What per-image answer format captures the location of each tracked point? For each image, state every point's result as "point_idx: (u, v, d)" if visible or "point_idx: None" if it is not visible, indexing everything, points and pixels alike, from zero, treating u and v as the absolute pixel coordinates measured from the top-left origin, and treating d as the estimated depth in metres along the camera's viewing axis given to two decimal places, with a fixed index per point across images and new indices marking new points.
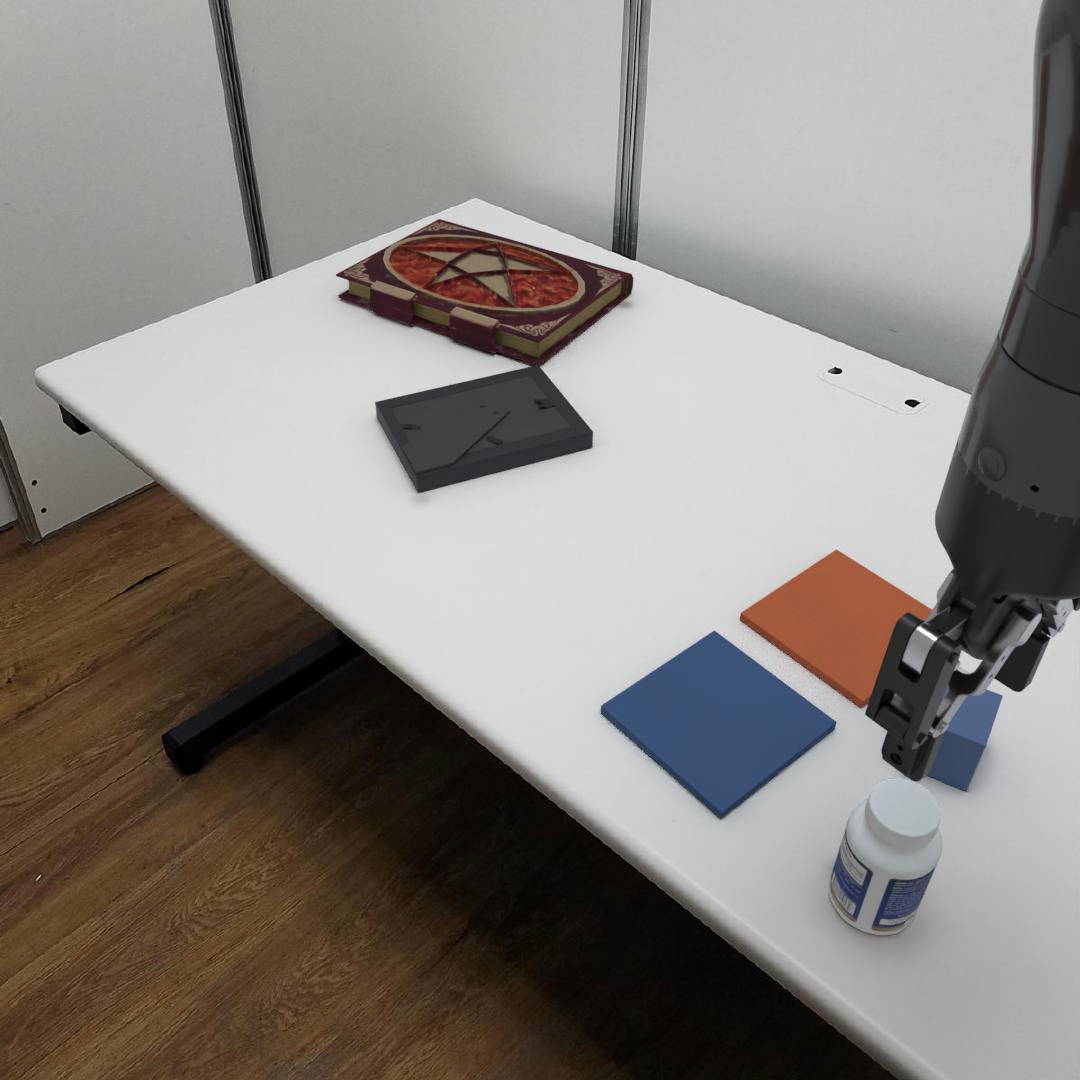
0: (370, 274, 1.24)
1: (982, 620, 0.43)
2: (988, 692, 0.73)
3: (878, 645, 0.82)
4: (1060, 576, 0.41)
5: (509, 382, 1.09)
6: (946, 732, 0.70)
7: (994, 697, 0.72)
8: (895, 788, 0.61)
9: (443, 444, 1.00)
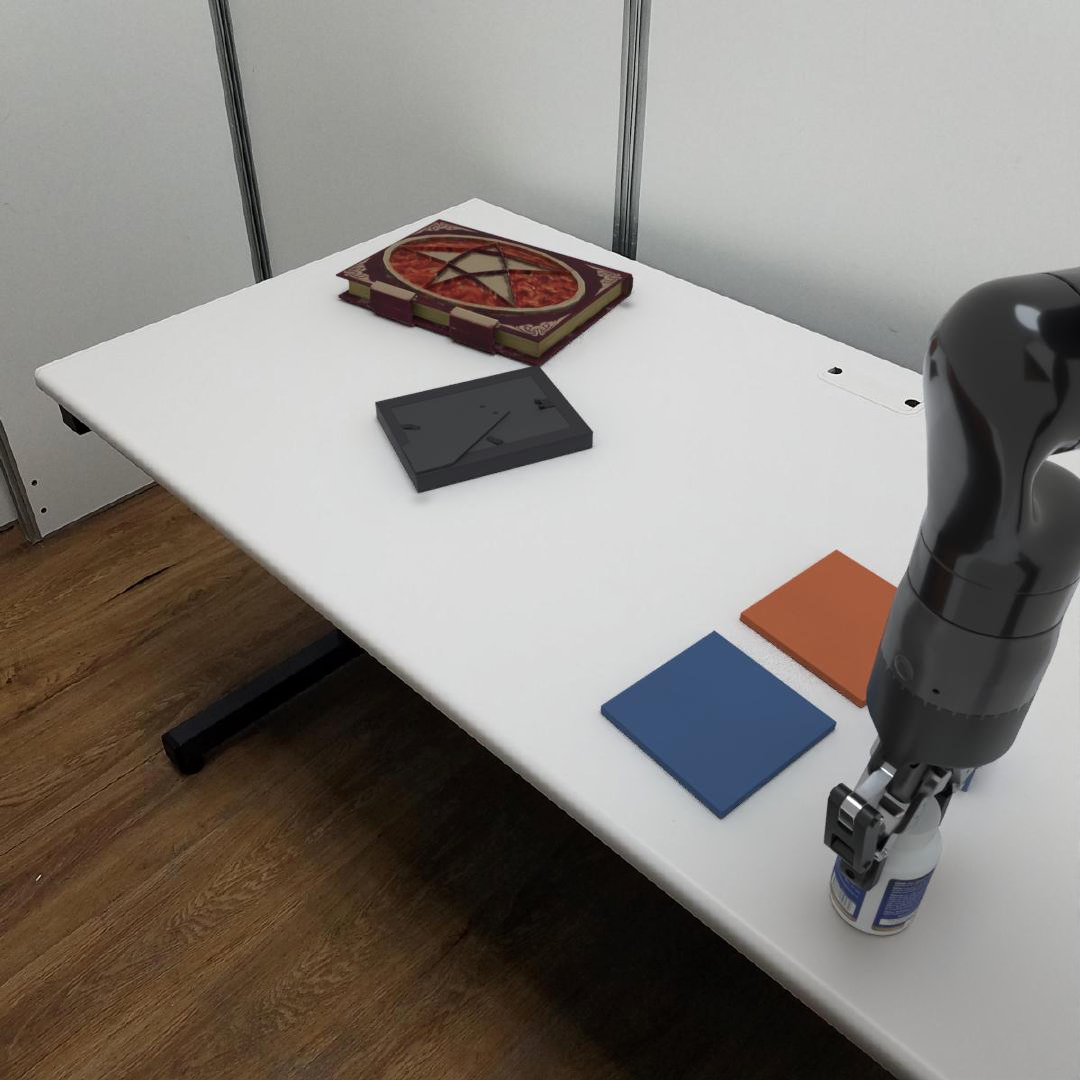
0: (370, 274, 1.24)
1: (901, 781, 0.54)
2: None
3: (878, 645, 0.82)
4: (959, 753, 0.51)
5: (509, 382, 1.09)
6: None
7: None
8: None
9: (443, 444, 1.00)
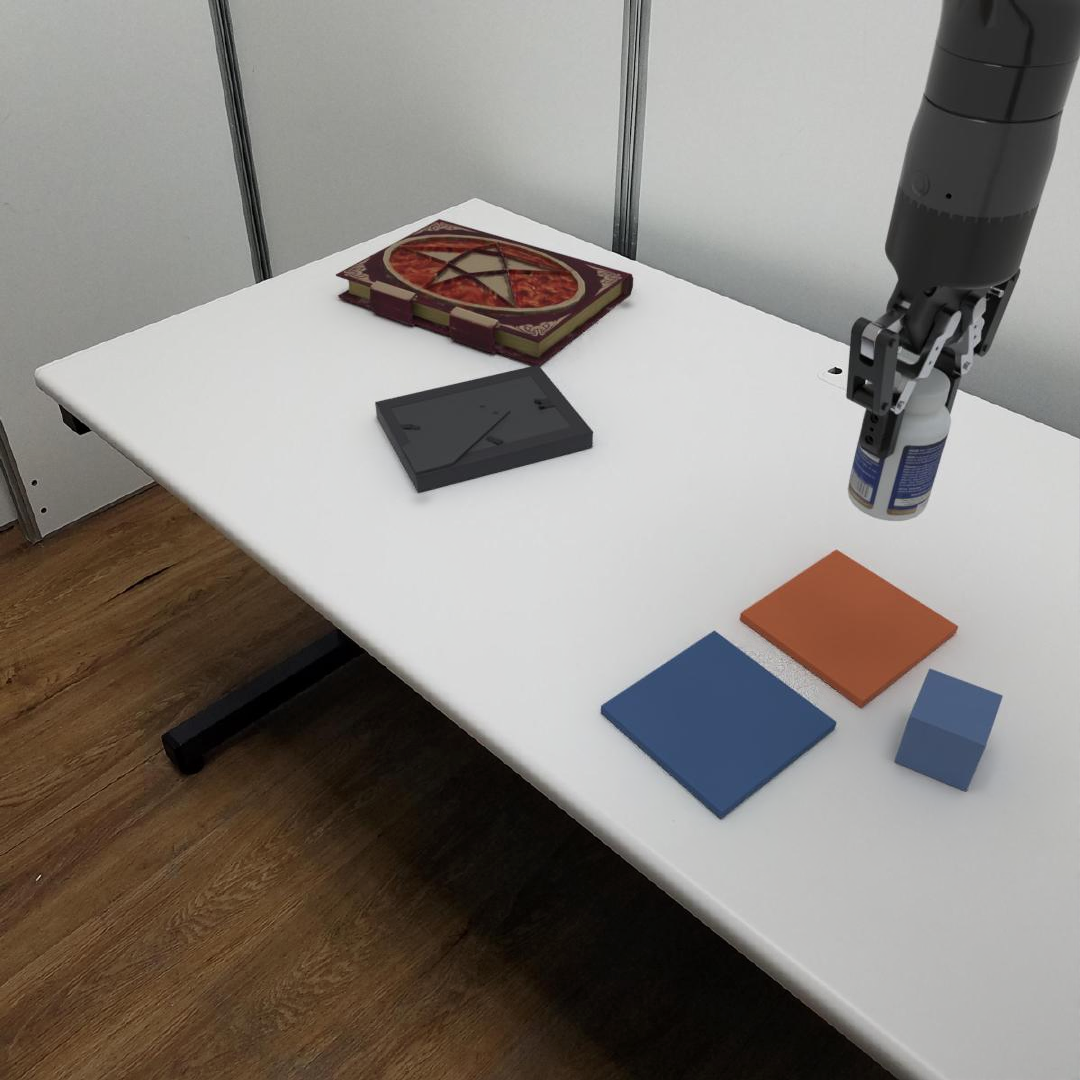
0: (370, 274, 1.24)
1: (917, 310, 0.60)
2: (988, 692, 0.73)
3: (878, 645, 0.82)
4: (969, 266, 0.58)
5: (509, 382, 1.09)
6: (946, 732, 0.70)
7: (994, 697, 0.72)
8: None
9: (443, 444, 1.00)
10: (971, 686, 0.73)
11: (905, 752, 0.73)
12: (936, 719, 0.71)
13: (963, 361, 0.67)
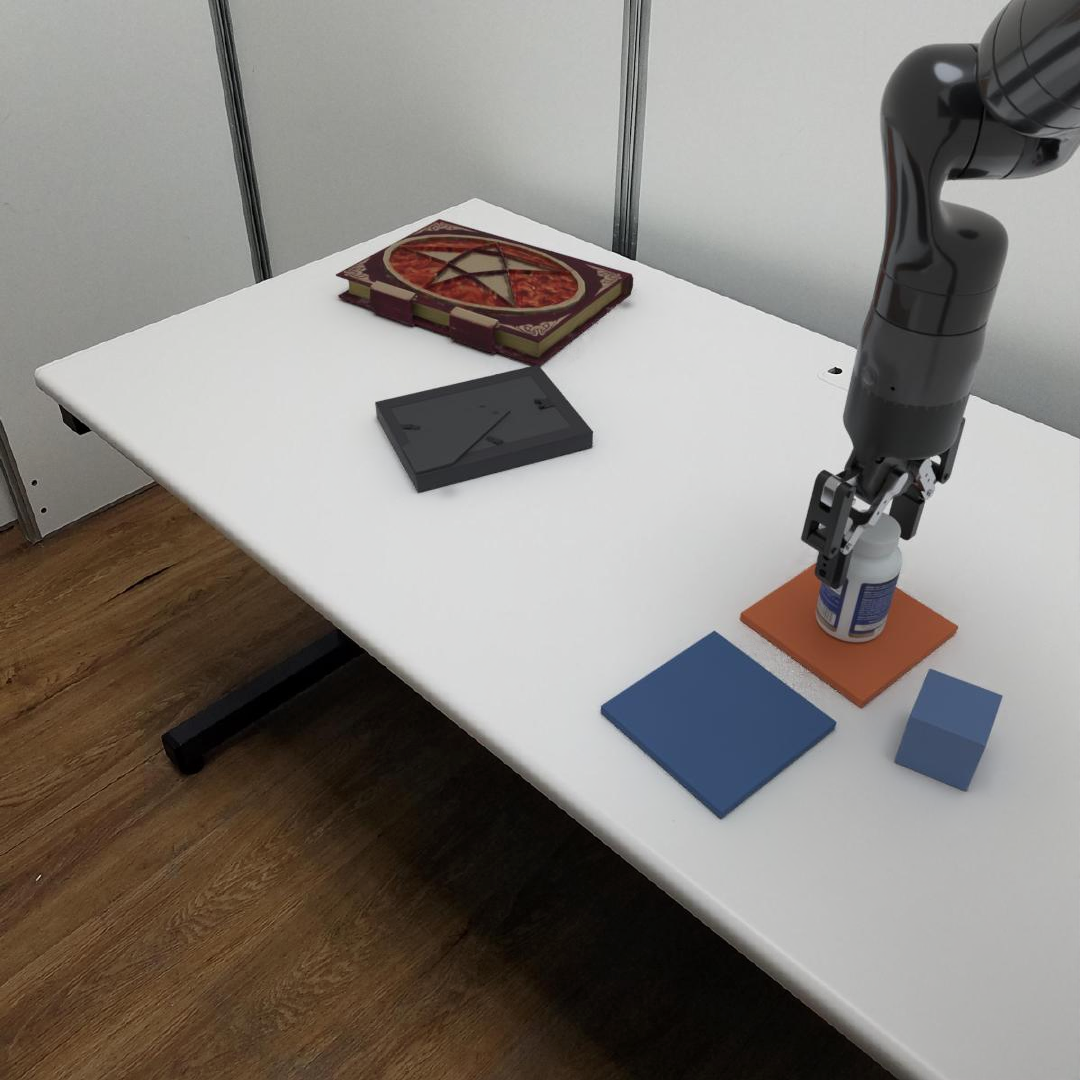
0: (370, 274, 1.24)
1: (869, 474, 0.71)
2: (988, 692, 0.73)
3: (878, 645, 0.82)
4: (911, 443, 0.68)
5: (509, 382, 1.09)
6: (946, 732, 0.70)
7: (994, 697, 0.72)
8: None
9: (443, 444, 1.00)
10: (971, 686, 0.73)
11: (905, 752, 0.73)
12: (936, 719, 0.71)
13: (926, 490, 0.78)
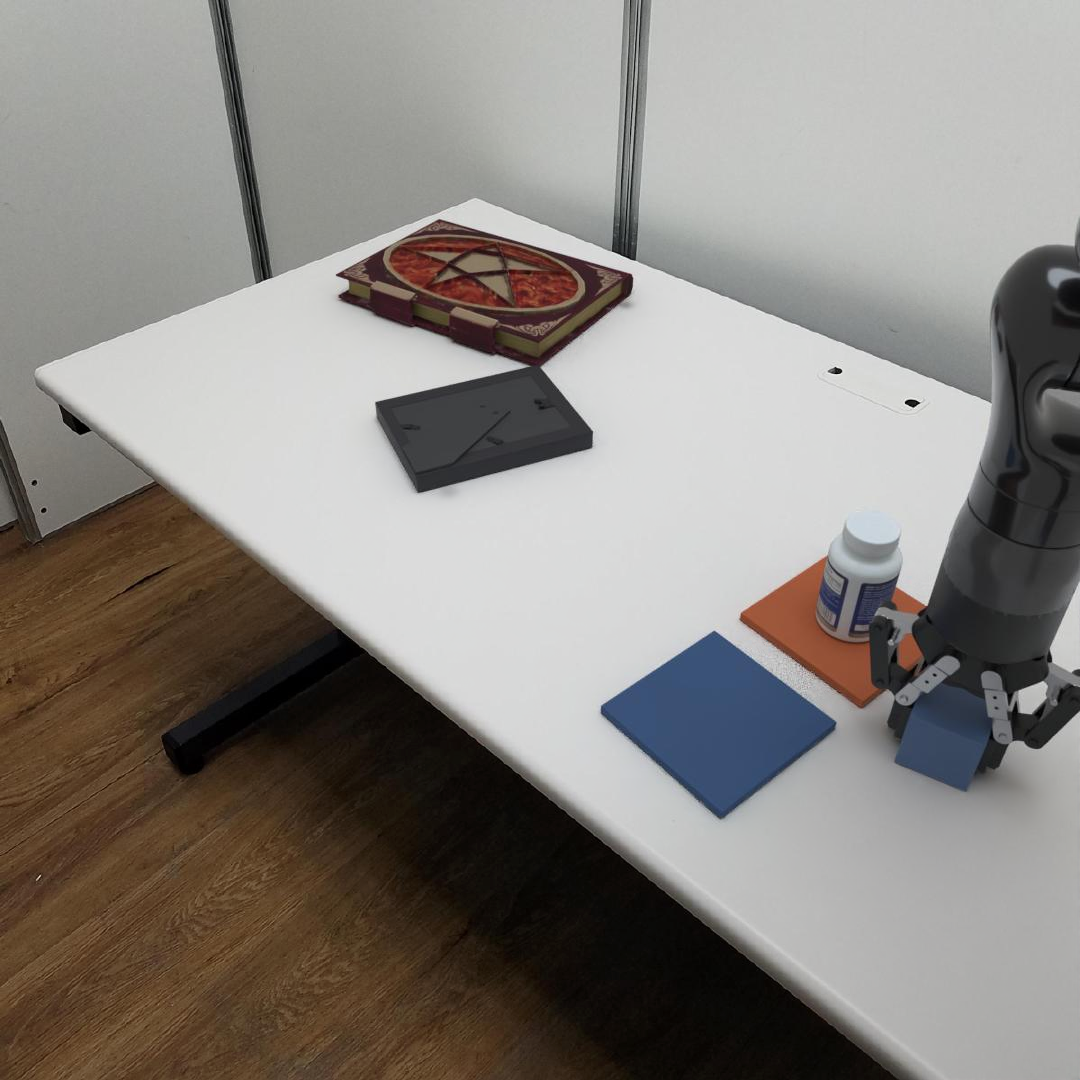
0: (370, 274, 1.24)
1: (917, 625, 0.69)
2: None
3: None
4: (940, 615, 0.65)
5: (509, 382, 1.09)
6: (946, 732, 0.70)
7: None
8: (866, 515, 0.79)
9: (443, 444, 1.00)
10: None
11: (905, 752, 0.73)
12: (936, 719, 0.71)
13: (995, 727, 0.70)
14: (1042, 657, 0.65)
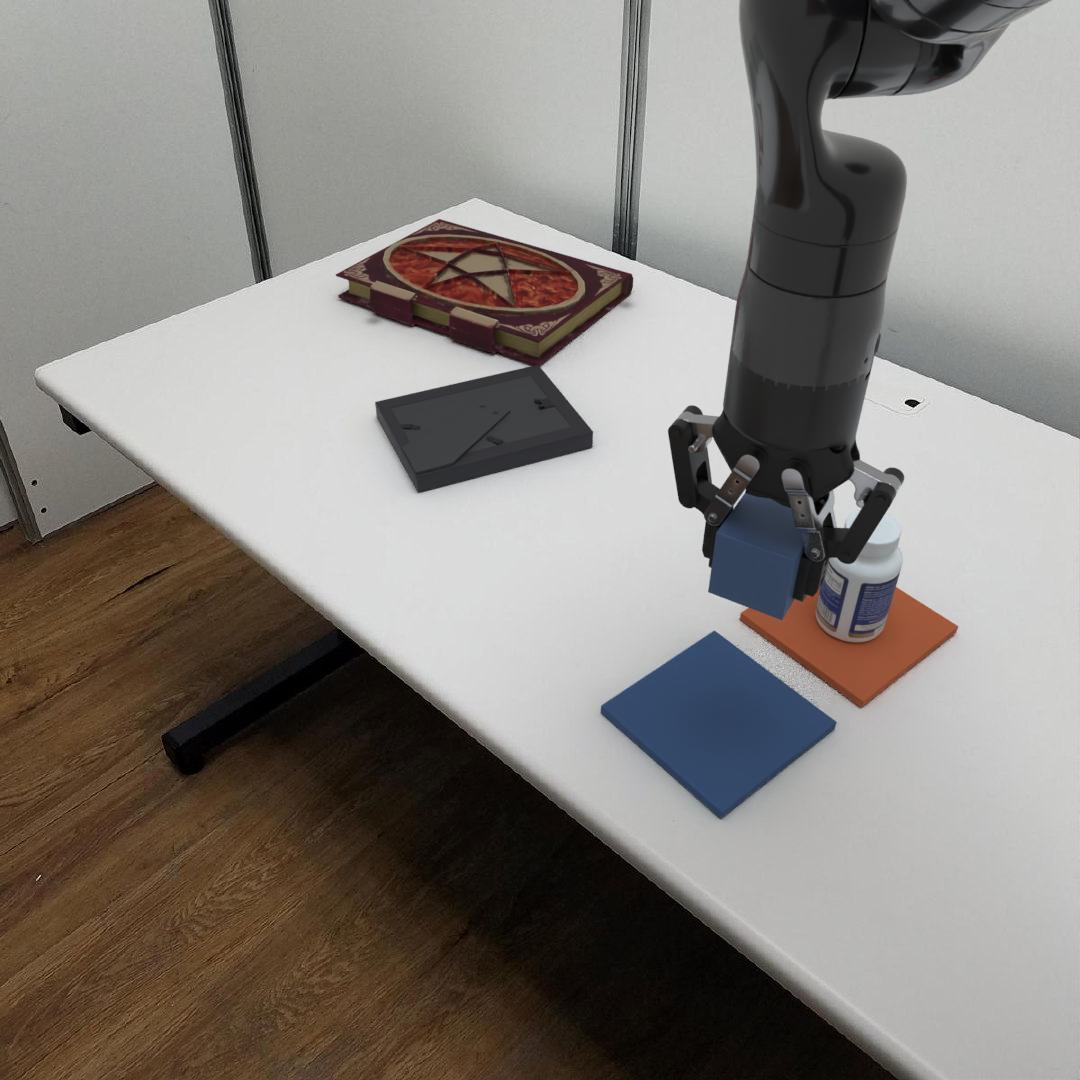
0: (370, 274, 1.24)
1: (716, 424, 0.62)
2: None
3: (878, 645, 0.82)
4: (730, 402, 0.58)
5: (509, 382, 1.09)
6: (754, 548, 0.64)
7: None
8: None
9: (443, 444, 1.00)
10: None
11: (717, 579, 0.67)
12: (745, 536, 0.64)
13: (806, 542, 0.63)
14: (844, 449, 0.58)
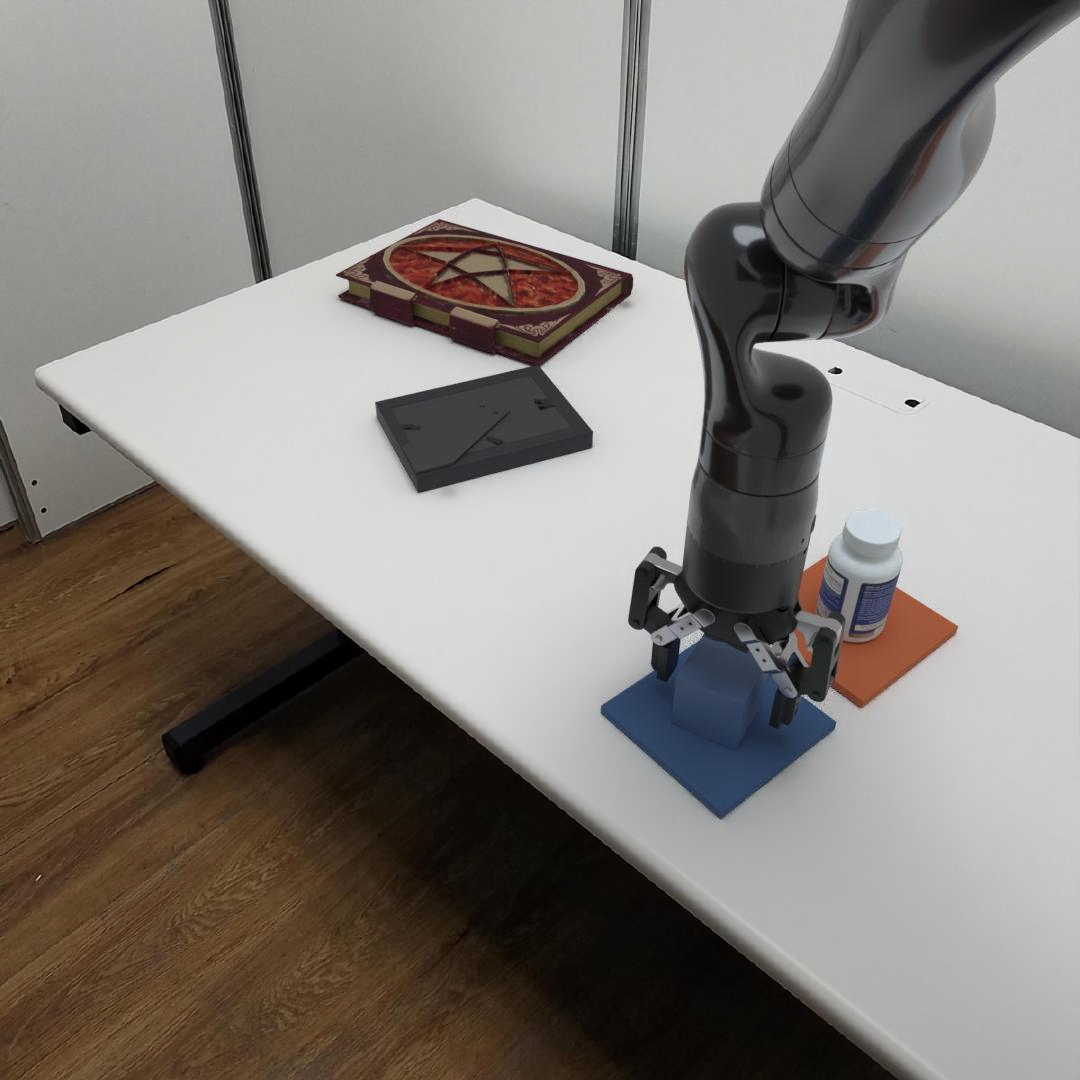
0: (370, 274, 1.24)
1: (677, 580, 0.70)
2: None
3: (878, 645, 0.82)
4: (687, 568, 0.66)
5: (509, 382, 1.09)
6: (709, 691, 0.72)
7: None
8: (866, 515, 0.79)
9: (443, 444, 1.00)
10: None
11: (678, 713, 0.75)
12: (701, 679, 0.73)
13: (780, 681, 0.70)
14: (787, 608, 0.66)
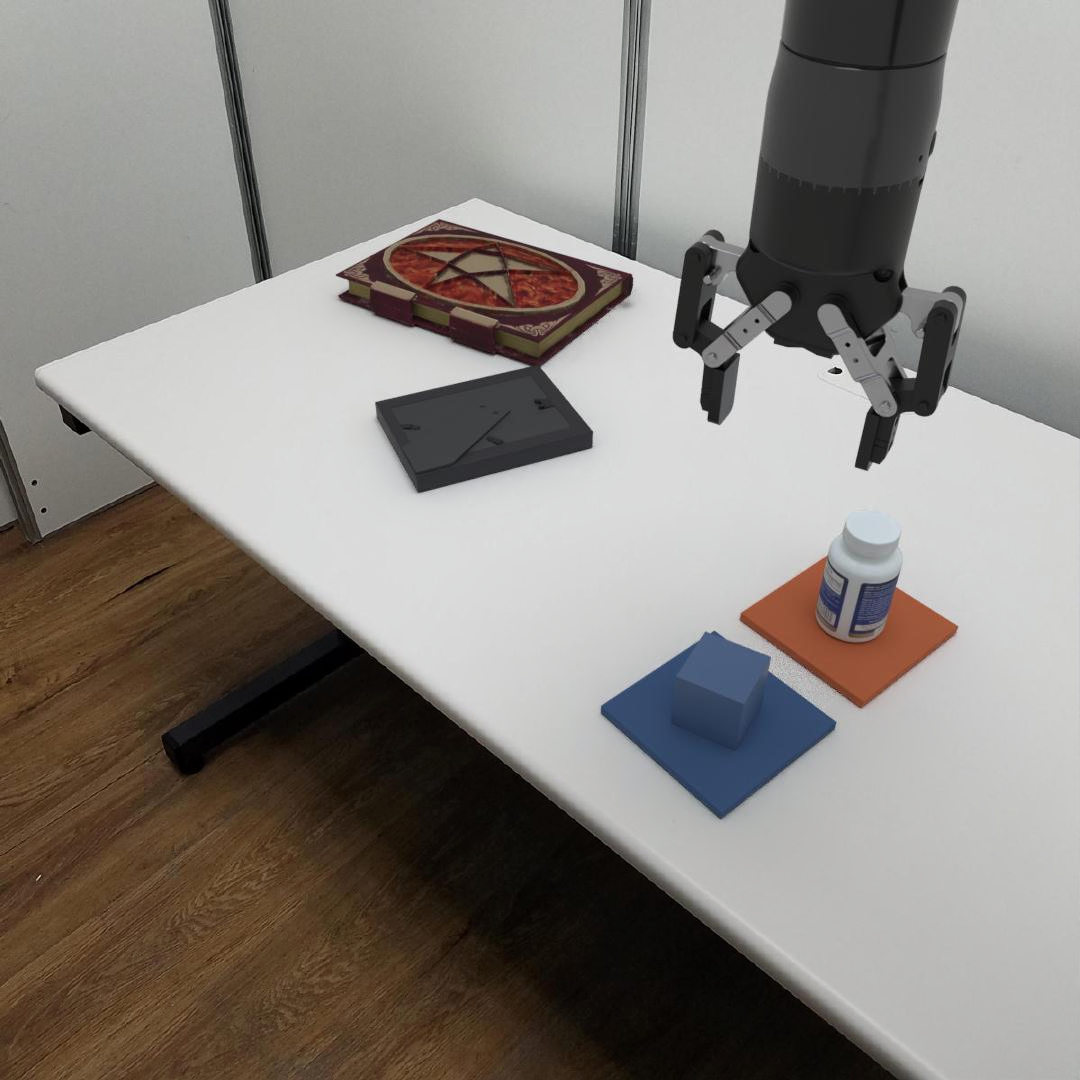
0: (370, 274, 1.24)
1: (741, 260, 0.54)
2: (757, 654, 0.75)
3: (878, 645, 0.82)
4: (758, 222, 0.50)
5: (509, 382, 1.09)
6: (709, 691, 0.72)
7: (762, 658, 0.74)
8: (866, 515, 0.79)
9: (443, 444, 1.00)
10: (742, 648, 0.75)
11: (678, 713, 0.75)
12: (701, 679, 0.73)
13: (875, 393, 0.54)
14: (891, 276, 0.50)
